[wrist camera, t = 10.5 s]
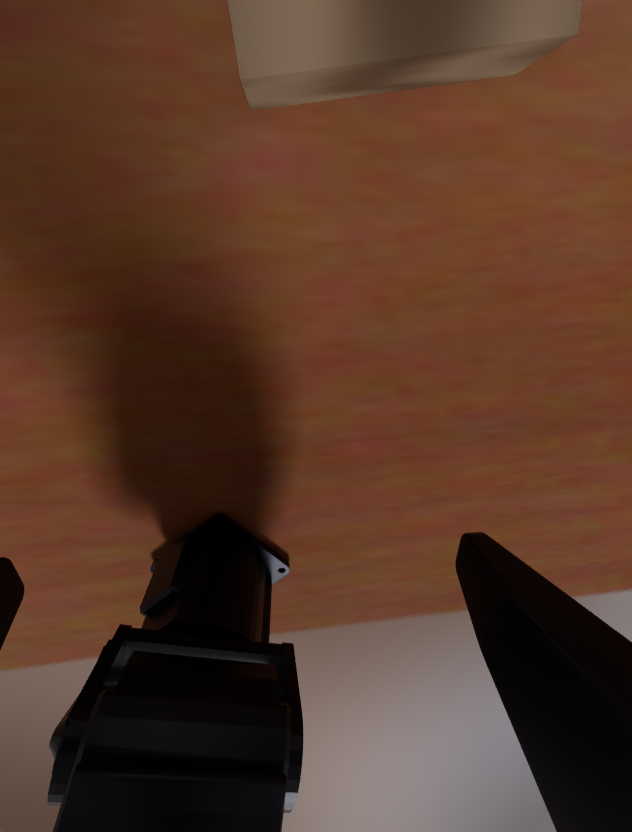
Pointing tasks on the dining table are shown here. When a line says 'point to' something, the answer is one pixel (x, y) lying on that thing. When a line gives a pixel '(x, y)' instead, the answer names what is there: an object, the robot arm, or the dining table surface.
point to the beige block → (387, 44)
